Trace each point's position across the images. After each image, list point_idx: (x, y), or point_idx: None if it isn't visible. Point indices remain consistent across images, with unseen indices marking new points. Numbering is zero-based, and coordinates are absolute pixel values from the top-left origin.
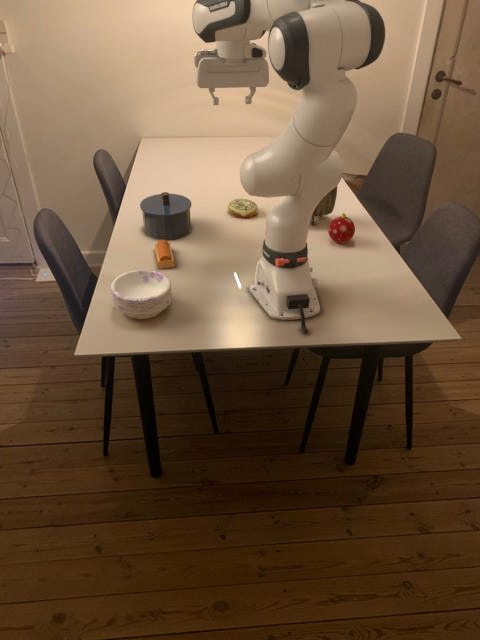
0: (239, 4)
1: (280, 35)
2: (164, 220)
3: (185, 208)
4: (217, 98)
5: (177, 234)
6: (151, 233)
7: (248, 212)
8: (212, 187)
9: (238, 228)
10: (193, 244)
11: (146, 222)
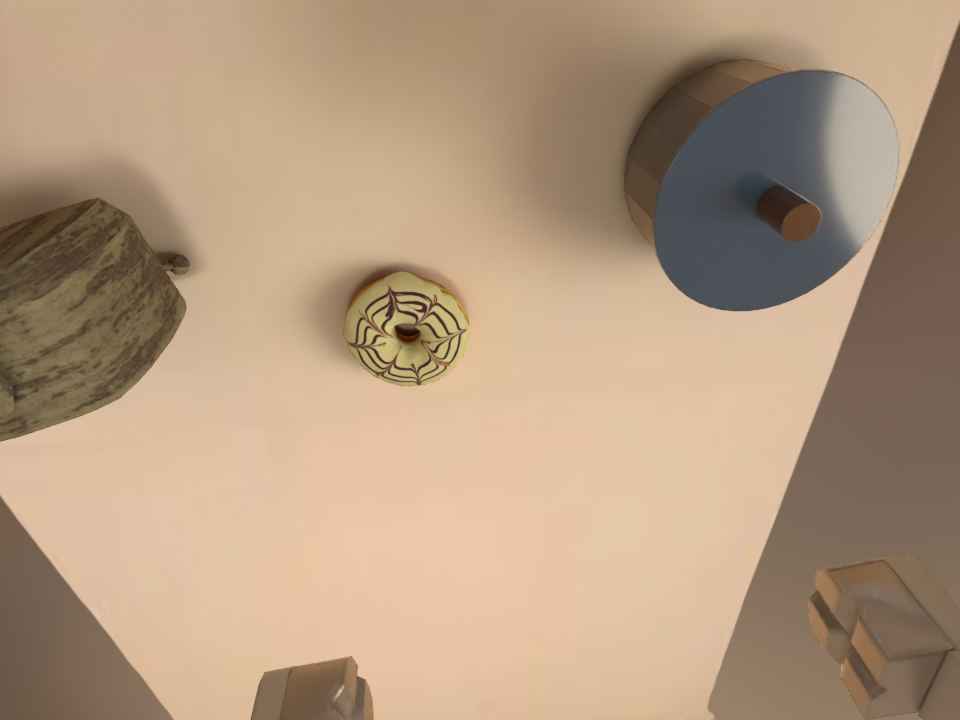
0: None
1: None
2: None
3: (691, 152)
4: (905, 666)
5: (696, 78)
6: None
7: (380, 282)
8: (520, 494)
9: (420, 181)
10: (626, 12)
11: None
